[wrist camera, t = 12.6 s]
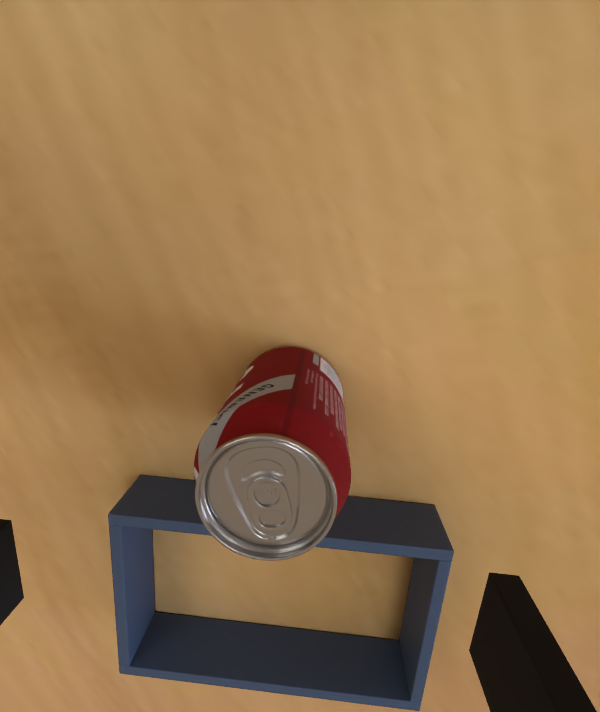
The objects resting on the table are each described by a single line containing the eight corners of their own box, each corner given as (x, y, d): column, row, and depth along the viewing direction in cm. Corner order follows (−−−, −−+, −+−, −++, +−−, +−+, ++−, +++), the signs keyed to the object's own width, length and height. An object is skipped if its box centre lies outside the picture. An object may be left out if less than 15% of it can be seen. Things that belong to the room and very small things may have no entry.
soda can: (334, 335, 25) (340, 408, 14) (348, 430, 27) (365, 566, 16) (233, 351, 26) (158, 433, 15) (253, 442, 28) (201, 581, 16)
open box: (140, 474, 29) (107, 514, 25) (434, 504, 28) (454, 551, 24) (146, 617, 33) (119, 674, 28) (407, 648, 32) (419, 711, 28)
